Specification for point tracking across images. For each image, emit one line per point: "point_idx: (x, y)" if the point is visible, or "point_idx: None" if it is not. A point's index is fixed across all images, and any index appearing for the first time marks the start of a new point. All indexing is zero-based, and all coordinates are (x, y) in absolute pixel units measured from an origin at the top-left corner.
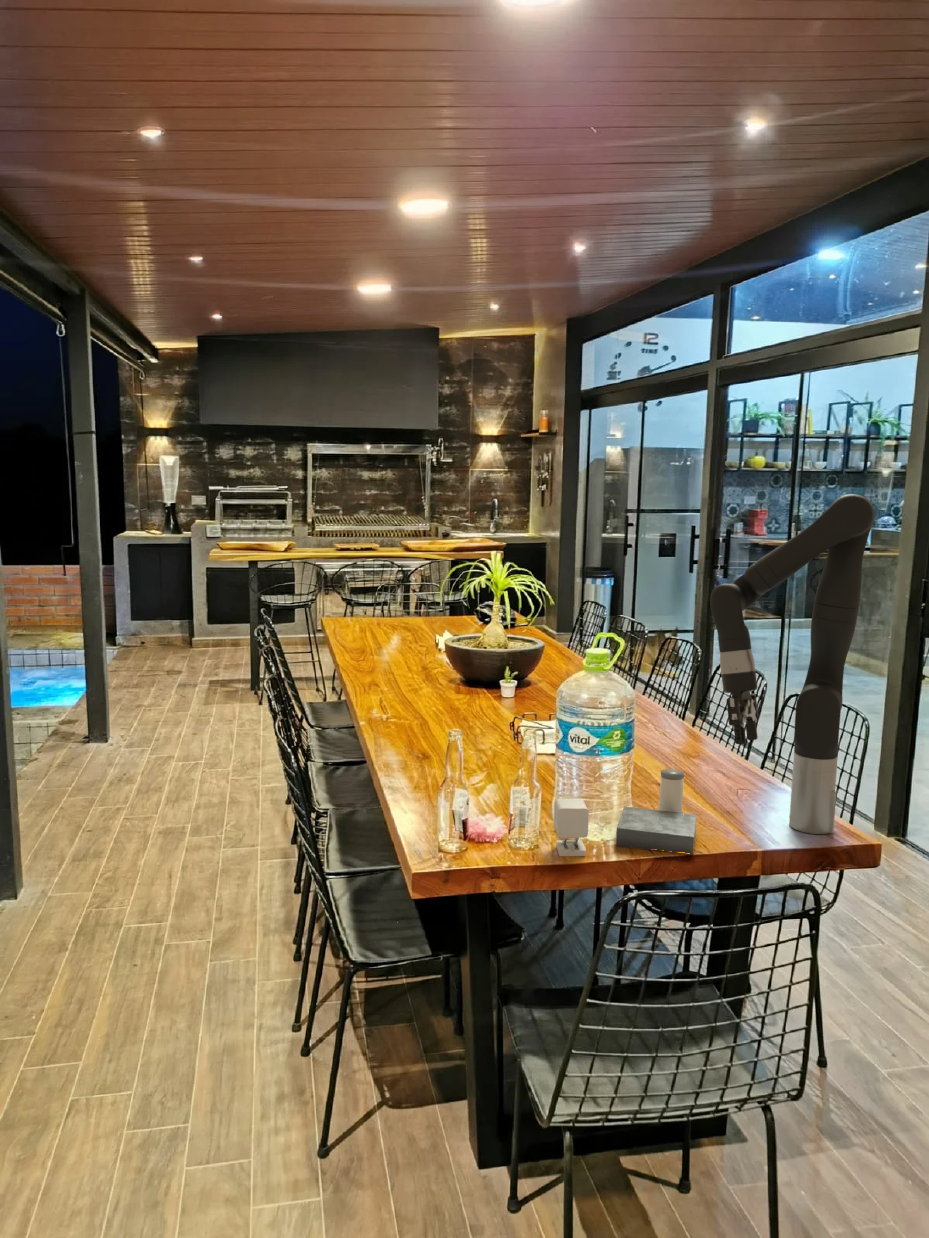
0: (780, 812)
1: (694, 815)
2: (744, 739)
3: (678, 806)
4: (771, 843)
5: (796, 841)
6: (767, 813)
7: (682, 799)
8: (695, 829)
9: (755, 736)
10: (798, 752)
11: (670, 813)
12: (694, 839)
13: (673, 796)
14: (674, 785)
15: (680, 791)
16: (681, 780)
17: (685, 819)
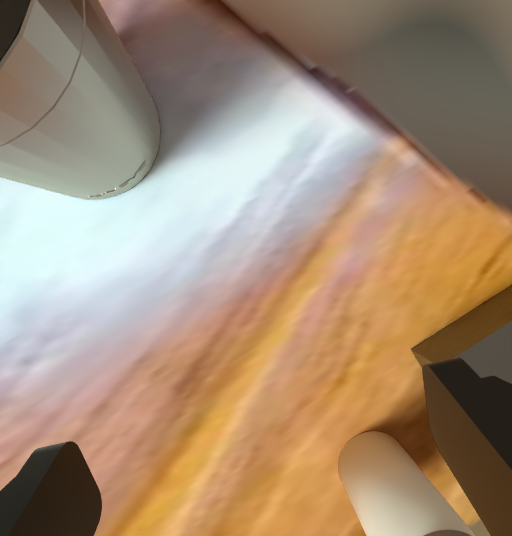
0: (41, 271)
1: None
2: (475, 381)
3: (400, 458)
4: (322, 145)
5: (246, 100)
6: (88, 294)
7: (384, 472)
8: (437, 340)
9: (59, 466)
10: (12, 12)
11: None
12: (489, 303)
13: (438, 491)
14: (463, 521)
15: (421, 492)
16: (443, 524)
17: (508, 360)
